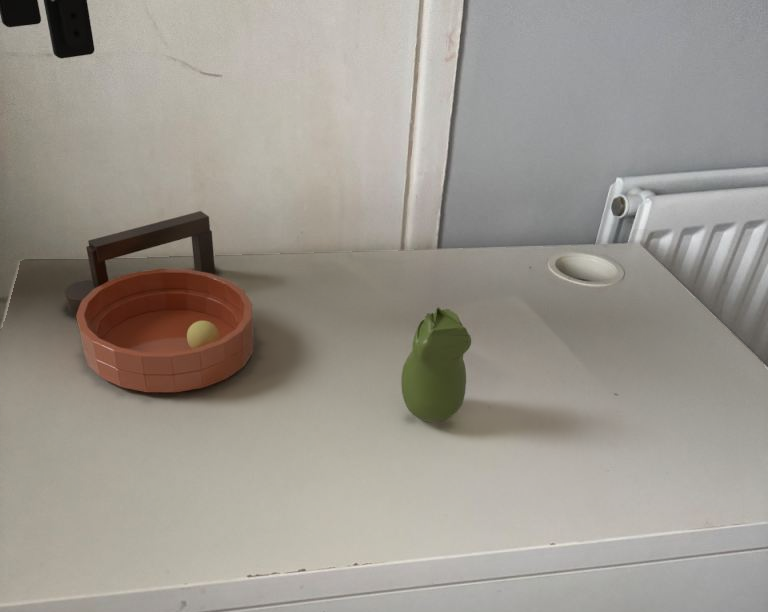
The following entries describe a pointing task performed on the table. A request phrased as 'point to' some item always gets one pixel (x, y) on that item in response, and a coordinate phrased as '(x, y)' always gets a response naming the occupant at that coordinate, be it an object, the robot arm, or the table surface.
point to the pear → (436, 367)
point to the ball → (202, 334)
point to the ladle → (140, 240)
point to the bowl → (165, 329)
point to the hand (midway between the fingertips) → (47, 39)
